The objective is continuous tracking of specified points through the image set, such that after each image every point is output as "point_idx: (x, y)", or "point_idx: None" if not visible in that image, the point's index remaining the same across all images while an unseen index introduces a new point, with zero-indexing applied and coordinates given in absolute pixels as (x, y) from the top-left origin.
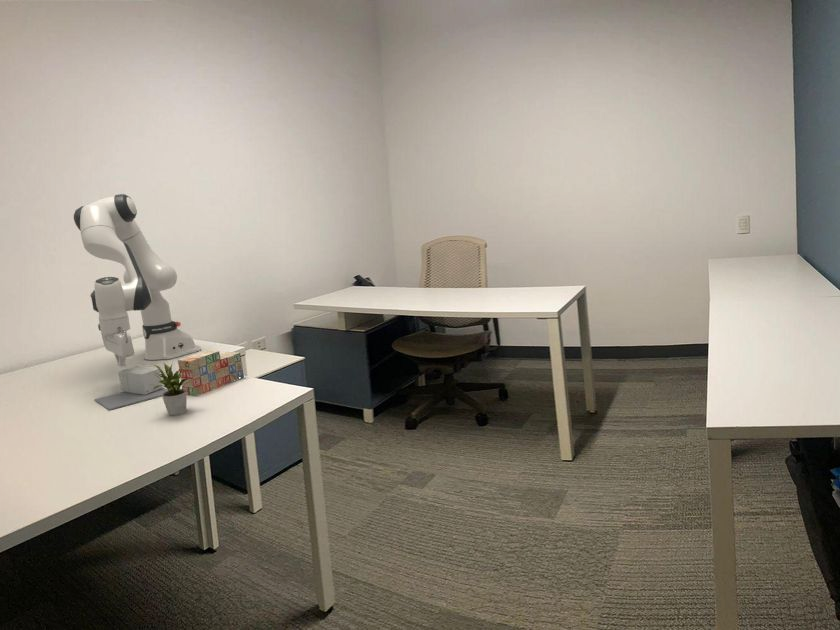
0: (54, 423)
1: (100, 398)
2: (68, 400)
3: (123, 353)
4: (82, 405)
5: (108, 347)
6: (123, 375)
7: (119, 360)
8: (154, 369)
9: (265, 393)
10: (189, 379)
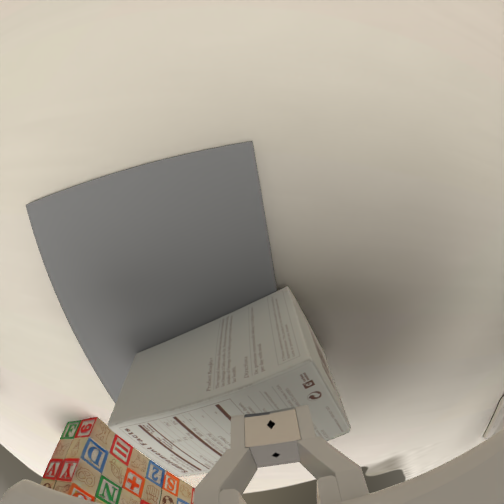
0: (35, 15)
1: (237, 172)
2: (373, 41)
3: (2, 498)
4: (205, 79)
5: (480, 485)
6: (253, 365)
7: (222, 462)
8: (167, 467)
9: (47, 464)
10: (59, 456)
